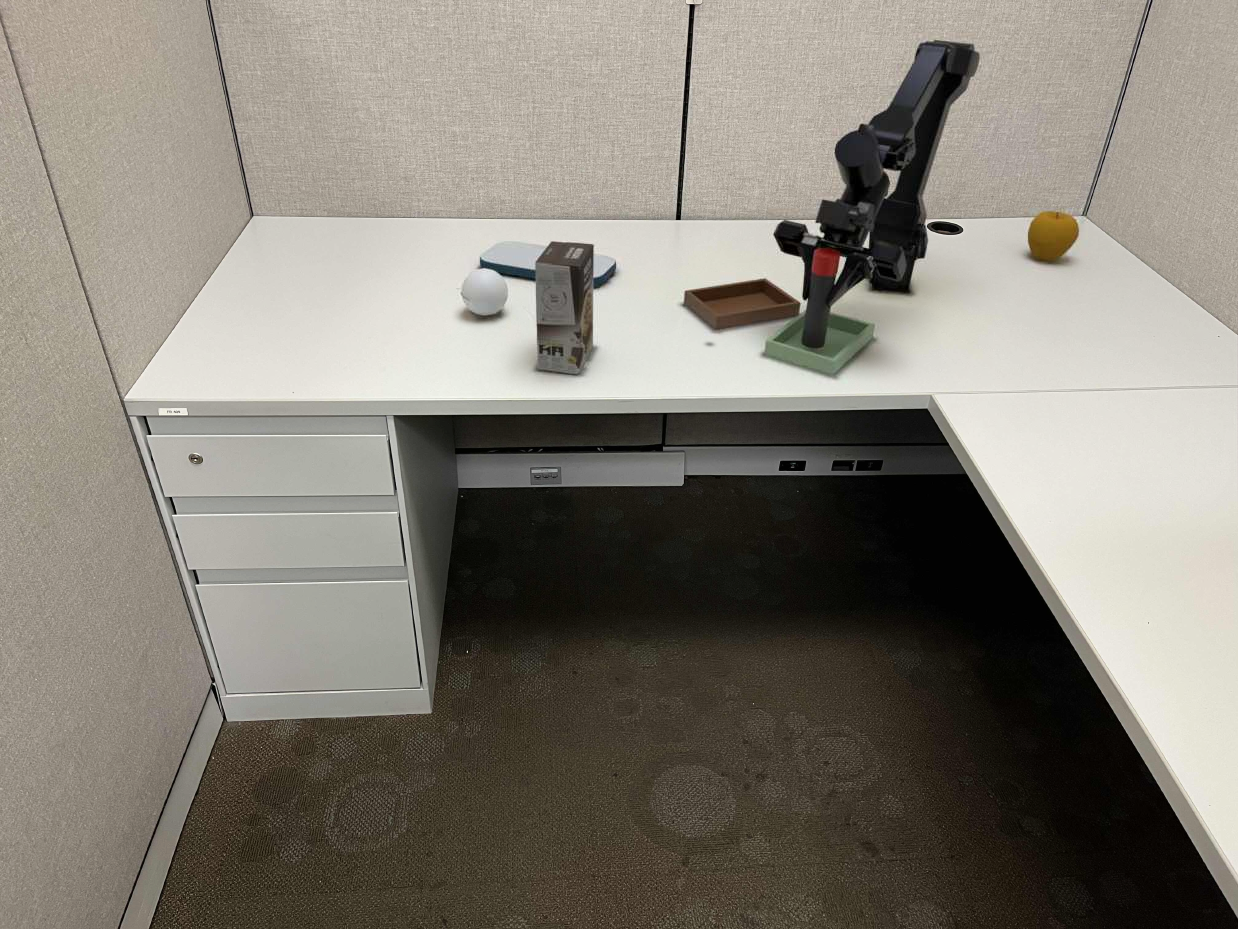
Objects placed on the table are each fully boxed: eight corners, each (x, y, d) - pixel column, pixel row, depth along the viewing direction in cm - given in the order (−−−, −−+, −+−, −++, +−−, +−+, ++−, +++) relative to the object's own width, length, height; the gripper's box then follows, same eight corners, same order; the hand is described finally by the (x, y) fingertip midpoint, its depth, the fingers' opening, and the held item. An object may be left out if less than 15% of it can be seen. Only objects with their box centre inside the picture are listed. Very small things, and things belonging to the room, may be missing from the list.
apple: (1073, 256, 168) (1088, 210, 163) (1065, 270, 162) (1080, 222, 157) (1026, 247, 171) (1039, 202, 166) (1017, 260, 165) (1030, 213, 160)
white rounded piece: (515, 307, 143) (513, 263, 139) (499, 325, 137) (497, 281, 133) (458, 299, 144) (454, 256, 140) (440, 318, 139) (435, 273, 134)
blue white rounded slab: (473, 270, 155) (472, 260, 154) (502, 249, 164) (502, 238, 163) (598, 291, 148) (598, 280, 147) (621, 268, 157) (621, 257, 156)
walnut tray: (763, 291, 150) (765, 278, 149) (798, 316, 142) (800, 302, 141) (683, 304, 145) (684, 290, 144) (715, 331, 137) (716, 316, 135)
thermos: (824, 339, 131) (839, 248, 123) (825, 349, 128) (841, 258, 120) (800, 336, 132) (813, 246, 124) (800, 347, 129) (814, 256, 121)
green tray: (807, 320, 141) (809, 306, 139) (872, 339, 136) (875, 324, 134) (763, 355, 130) (765, 340, 129) (832, 376, 125) (835, 361, 124)
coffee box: (580, 375, 124) (580, 266, 115) (536, 370, 125) (532, 261, 116) (594, 347, 131) (595, 242, 122) (553, 342, 132) (550, 238, 123)
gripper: (787, 163, 124) (742, 261, 122) (917, 188, 115) (870, 294, 114) (803, 204, 133) (762, 295, 132) (923, 230, 125) (881, 328, 123)
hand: (815, 302), depth 125 cm, fingers closed on thermos, 3 cm apart
